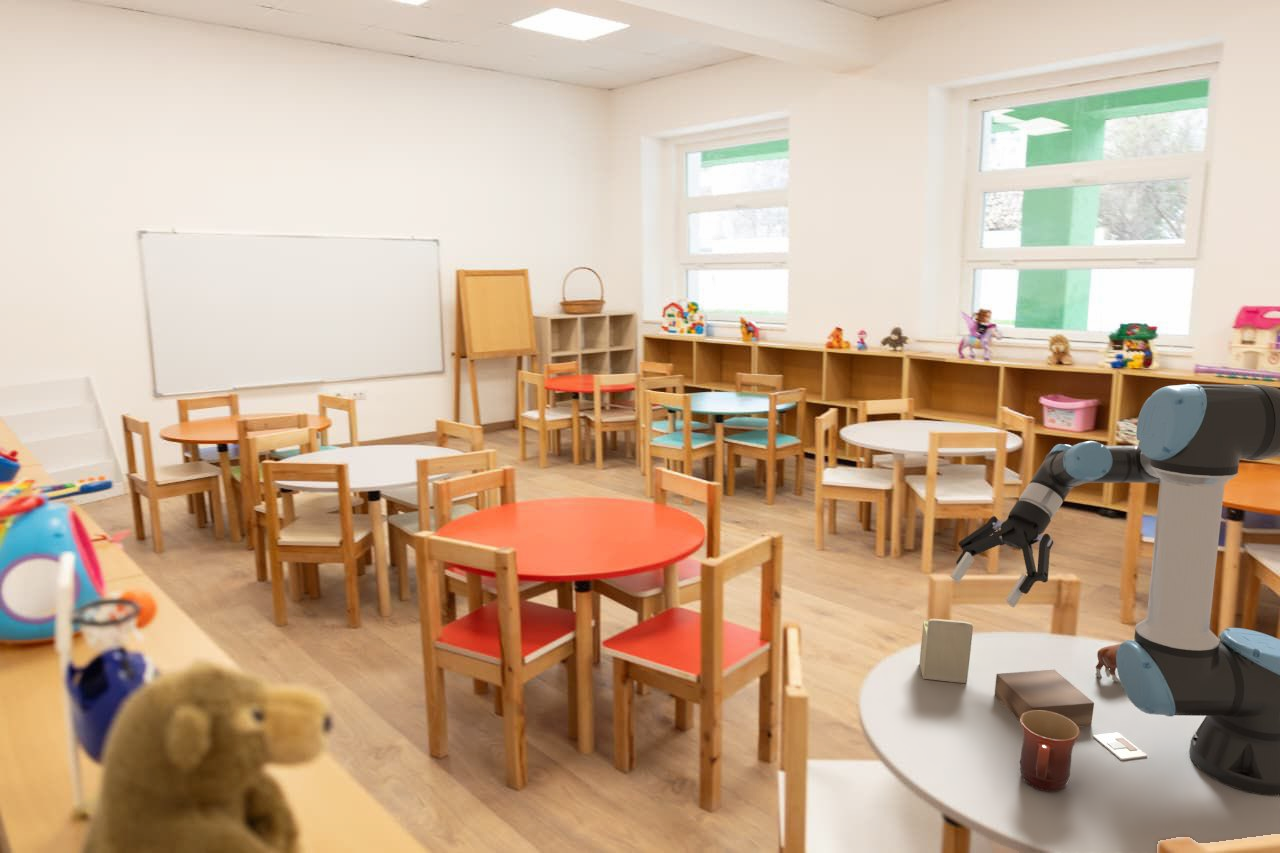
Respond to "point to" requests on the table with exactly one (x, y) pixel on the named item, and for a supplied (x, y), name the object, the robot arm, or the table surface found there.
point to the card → (1119, 746)
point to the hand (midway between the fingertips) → (980, 591)
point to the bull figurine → (1108, 661)
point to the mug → (1047, 749)
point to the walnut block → (1043, 695)
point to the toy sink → (946, 650)
